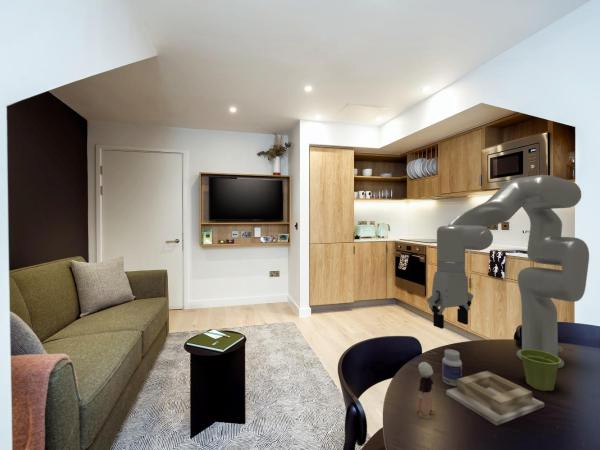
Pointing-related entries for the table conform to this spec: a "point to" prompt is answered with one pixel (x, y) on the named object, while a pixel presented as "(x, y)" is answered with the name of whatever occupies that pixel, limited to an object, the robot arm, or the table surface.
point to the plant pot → (540, 368)
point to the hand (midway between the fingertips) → (450, 325)
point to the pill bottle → (451, 367)
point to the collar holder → (494, 397)
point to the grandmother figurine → (425, 391)
